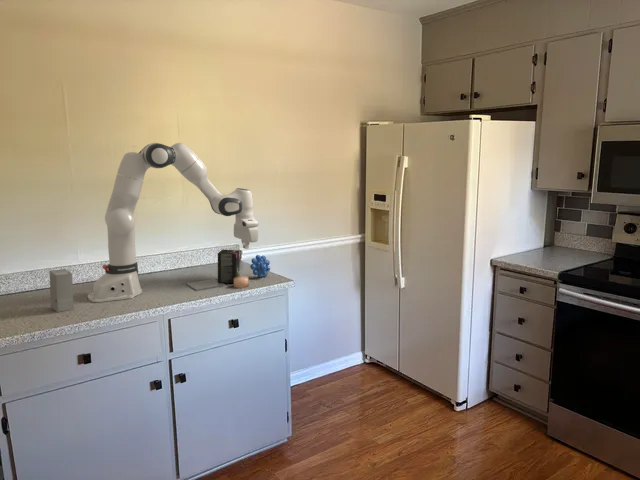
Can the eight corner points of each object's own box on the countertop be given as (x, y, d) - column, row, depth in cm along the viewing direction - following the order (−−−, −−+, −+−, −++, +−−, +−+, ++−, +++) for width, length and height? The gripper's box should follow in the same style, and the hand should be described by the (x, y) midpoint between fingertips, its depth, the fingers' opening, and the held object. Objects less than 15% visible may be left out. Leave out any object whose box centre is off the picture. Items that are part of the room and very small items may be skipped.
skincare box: (50, 308, 199) (46, 270, 196) (69, 304, 204) (65, 267, 201) (57, 313, 193) (53, 274, 190) (76, 309, 198) (72, 271, 195)
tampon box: (236, 283, 233) (236, 253, 231) (217, 282, 233) (217, 252, 231) (240, 278, 244) (240, 249, 242) (221, 277, 244) (222, 249, 242)
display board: (196, 290, 223) (196, 289, 223) (186, 284, 233) (186, 283, 233) (225, 285, 231) (225, 284, 231) (214, 279, 241) (214, 278, 241)
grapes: (255, 281, 238) (254, 257, 236) (248, 278, 243) (247, 255, 241) (275, 277, 246) (274, 254, 243) (267, 274, 251) (267, 252, 249)
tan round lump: (237, 289, 225) (237, 281, 225) (231, 285, 231) (231, 277, 230) (251, 286, 229) (251, 278, 229) (244, 283, 235) (244, 275, 234)
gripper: (229, 219, 245) (231, 246, 248) (248, 224, 229) (249, 252, 231) (241, 218, 249) (242, 244, 252) (260, 223, 232) (261, 251, 235)
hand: (245, 248), depth 241 cm, fingers closed
